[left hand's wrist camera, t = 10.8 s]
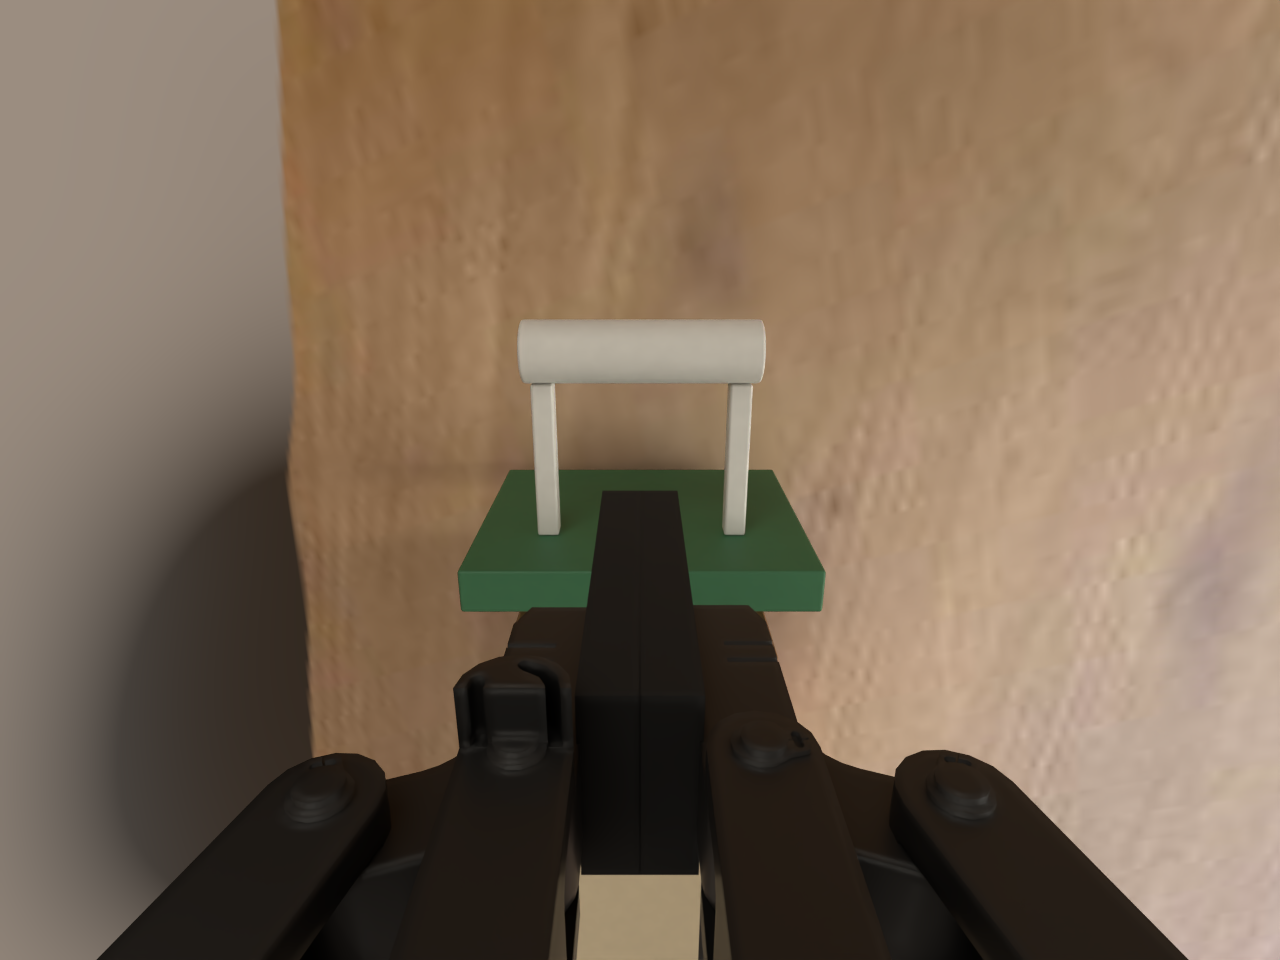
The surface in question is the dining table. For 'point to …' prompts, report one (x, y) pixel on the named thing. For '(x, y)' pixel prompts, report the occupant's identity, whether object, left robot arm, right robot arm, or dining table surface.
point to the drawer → (641, 477)
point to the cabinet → (639, 917)
